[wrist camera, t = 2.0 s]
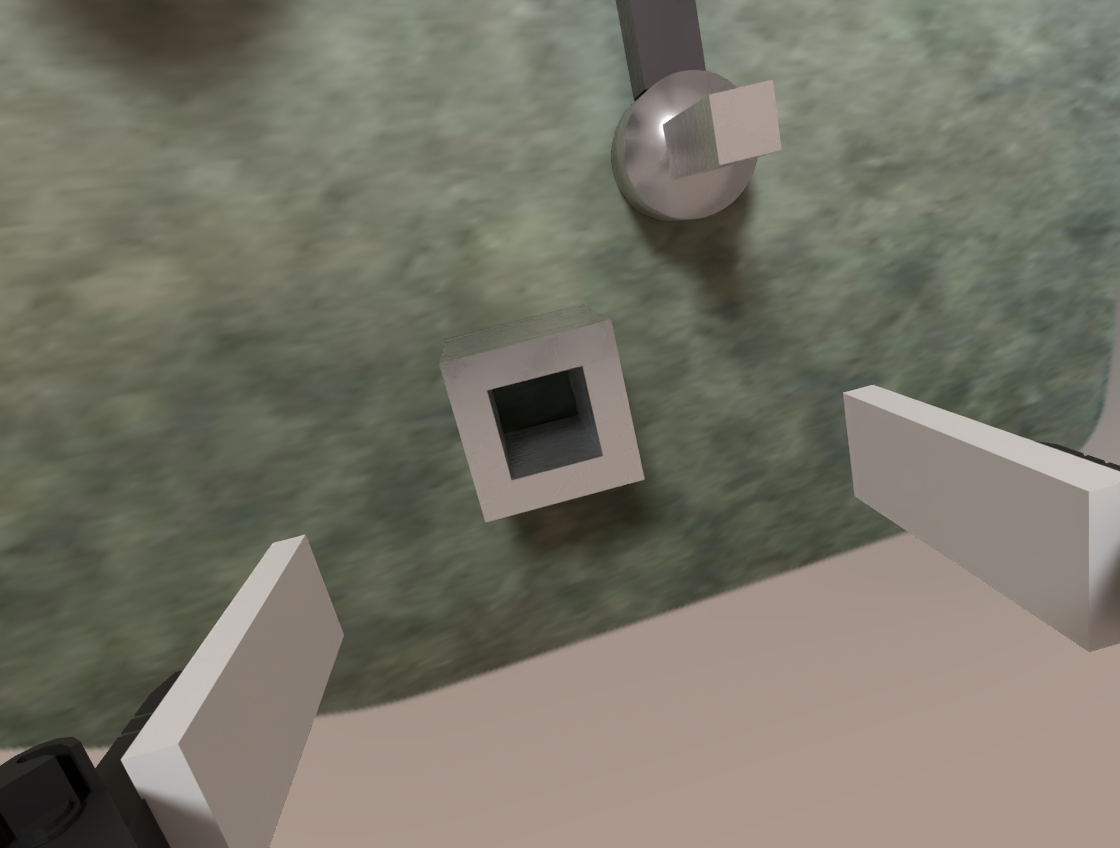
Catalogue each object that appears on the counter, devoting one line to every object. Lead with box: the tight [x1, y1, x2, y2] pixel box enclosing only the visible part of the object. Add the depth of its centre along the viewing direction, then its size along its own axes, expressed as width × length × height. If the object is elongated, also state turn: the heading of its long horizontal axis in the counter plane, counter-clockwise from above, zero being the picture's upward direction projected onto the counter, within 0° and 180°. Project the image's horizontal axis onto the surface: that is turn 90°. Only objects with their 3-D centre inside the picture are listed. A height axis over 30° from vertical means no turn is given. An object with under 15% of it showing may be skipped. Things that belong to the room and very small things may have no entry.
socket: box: [439, 304, 645, 522], centre depth 26 cm, size 6×6×6 cm
